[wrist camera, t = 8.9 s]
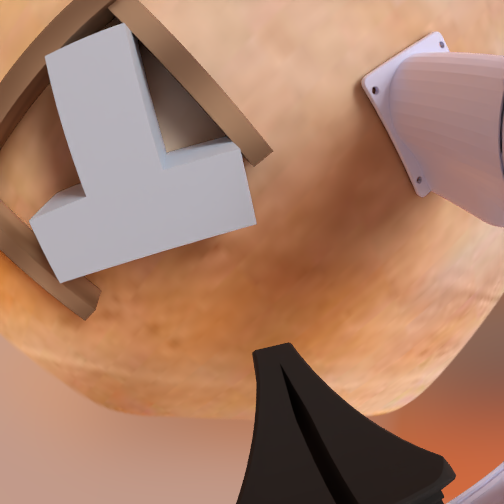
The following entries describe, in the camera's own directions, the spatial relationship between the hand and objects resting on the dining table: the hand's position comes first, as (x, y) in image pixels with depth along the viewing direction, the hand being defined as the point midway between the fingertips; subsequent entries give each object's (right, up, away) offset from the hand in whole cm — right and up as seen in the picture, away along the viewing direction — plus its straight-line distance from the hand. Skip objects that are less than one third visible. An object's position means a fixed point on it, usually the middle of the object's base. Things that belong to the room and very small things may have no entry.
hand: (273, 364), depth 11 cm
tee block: (-7, +10, +4) cm, 13 cm away
